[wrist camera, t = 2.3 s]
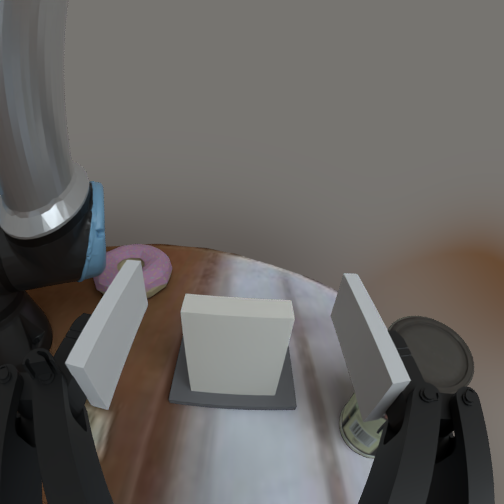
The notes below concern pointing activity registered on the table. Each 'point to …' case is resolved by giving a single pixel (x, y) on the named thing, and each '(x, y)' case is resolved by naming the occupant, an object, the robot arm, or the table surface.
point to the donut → (151, 260)
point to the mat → (185, 396)
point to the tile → (235, 343)
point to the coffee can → (430, 365)
